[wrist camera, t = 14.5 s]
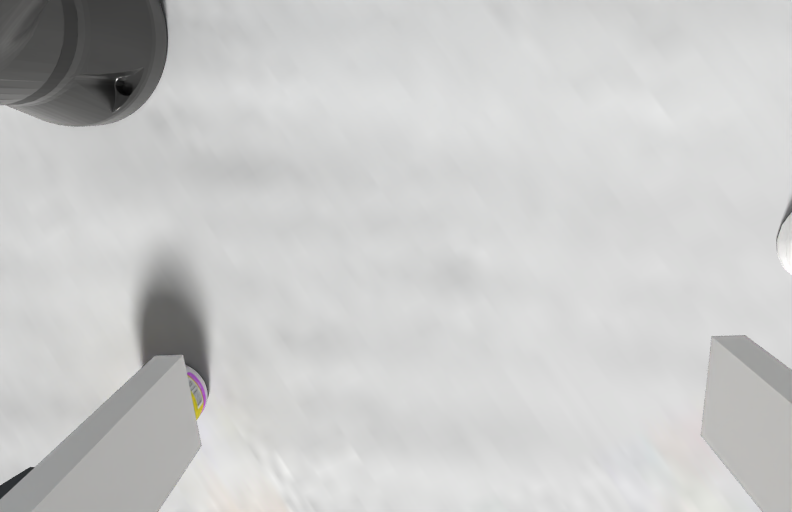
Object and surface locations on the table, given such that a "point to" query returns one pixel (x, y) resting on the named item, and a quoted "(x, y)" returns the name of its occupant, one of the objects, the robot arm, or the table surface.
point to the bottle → (785, 244)
